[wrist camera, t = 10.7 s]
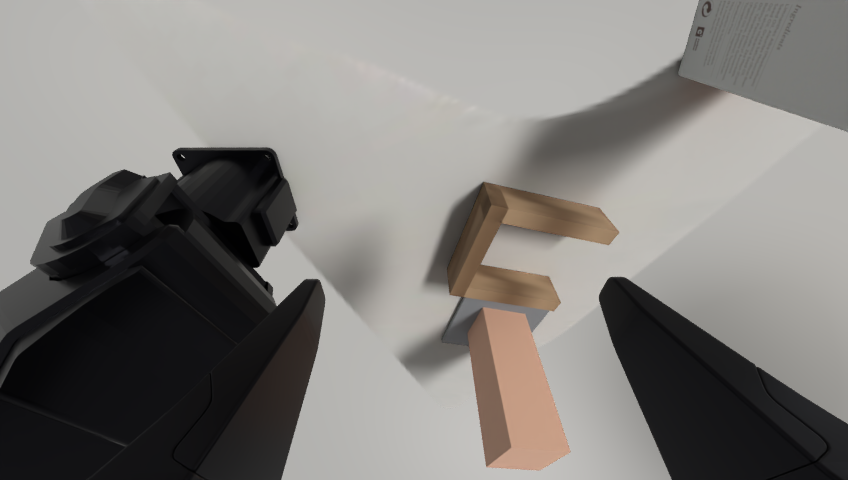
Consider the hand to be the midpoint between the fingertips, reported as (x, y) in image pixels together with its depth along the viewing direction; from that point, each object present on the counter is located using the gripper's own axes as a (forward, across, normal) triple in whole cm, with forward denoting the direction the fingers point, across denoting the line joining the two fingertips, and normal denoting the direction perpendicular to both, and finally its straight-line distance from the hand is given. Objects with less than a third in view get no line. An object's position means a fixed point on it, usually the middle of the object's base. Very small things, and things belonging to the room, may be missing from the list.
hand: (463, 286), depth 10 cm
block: (+13, -6, +20) cm, 25 cm away
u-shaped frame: (+13, -7, +9) cm, 17 cm away
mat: (+13, -6, +20) cm, 25 cm away
